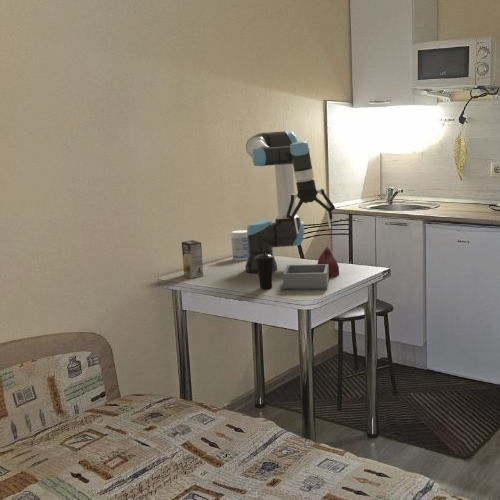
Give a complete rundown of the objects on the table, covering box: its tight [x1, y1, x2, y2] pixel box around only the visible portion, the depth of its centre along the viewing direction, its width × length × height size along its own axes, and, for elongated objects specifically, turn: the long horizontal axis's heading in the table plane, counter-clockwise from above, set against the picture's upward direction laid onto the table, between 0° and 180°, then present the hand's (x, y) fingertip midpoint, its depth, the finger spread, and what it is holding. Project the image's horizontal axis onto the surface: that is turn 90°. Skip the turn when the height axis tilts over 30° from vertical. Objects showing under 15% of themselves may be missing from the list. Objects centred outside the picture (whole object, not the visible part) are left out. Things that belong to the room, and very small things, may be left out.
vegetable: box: [316, 246, 340, 278], centre depth 311 cm, size 10×10×15 cm
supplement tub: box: [231, 229, 248, 262], centre depth 359 cm, size 10×10×15 cm
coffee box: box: [181, 239, 204, 279], centre depth 326 cm, size 9×6×16 cm
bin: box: [282, 263, 330, 291], centre depth 296 cm, size 18×18×7 cm
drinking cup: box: [255, 241, 275, 290], centre depth 294 cm, size 8×8×20 cm
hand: (313, 230), depth 289 cm, fingers open, 13 cm apart
